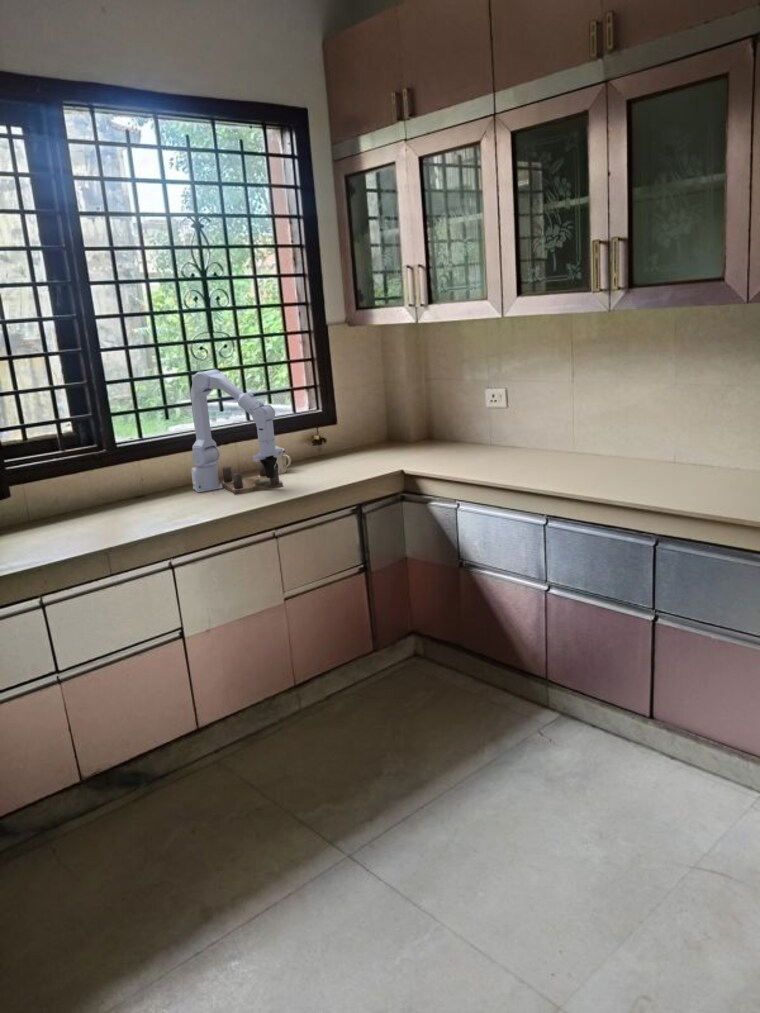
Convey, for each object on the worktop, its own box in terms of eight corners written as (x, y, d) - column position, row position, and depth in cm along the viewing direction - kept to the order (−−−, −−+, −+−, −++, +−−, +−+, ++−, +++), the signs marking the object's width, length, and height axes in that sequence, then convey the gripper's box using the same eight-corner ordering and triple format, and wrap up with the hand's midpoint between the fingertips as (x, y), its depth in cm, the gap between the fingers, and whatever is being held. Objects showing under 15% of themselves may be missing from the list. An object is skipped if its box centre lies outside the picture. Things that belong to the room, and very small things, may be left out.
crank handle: (252, 485, 281) (251, 470, 279) (256, 483, 284) (254, 468, 282) (277, 485, 278) (275, 469, 277) (281, 482, 281) (279, 467, 280)
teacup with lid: (260, 474, 308) (256, 445, 305) (273, 469, 316) (270, 441, 313) (285, 475, 303) (282, 446, 300) (298, 470, 310) (295, 442, 307)
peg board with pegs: (235, 494, 277) (232, 475, 275) (221, 485, 293) (219, 467, 291) (283, 486, 284) (281, 467, 282) (268, 478, 300) (266, 460, 299)
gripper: (262, 444, 266) (266, 482, 269) (287, 436, 278) (291, 473, 281) (246, 443, 270) (250, 481, 273) (272, 436, 282) (276, 472, 285)
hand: (270, 477), depth 277 cm, fingers closed, pressing on crank handle
